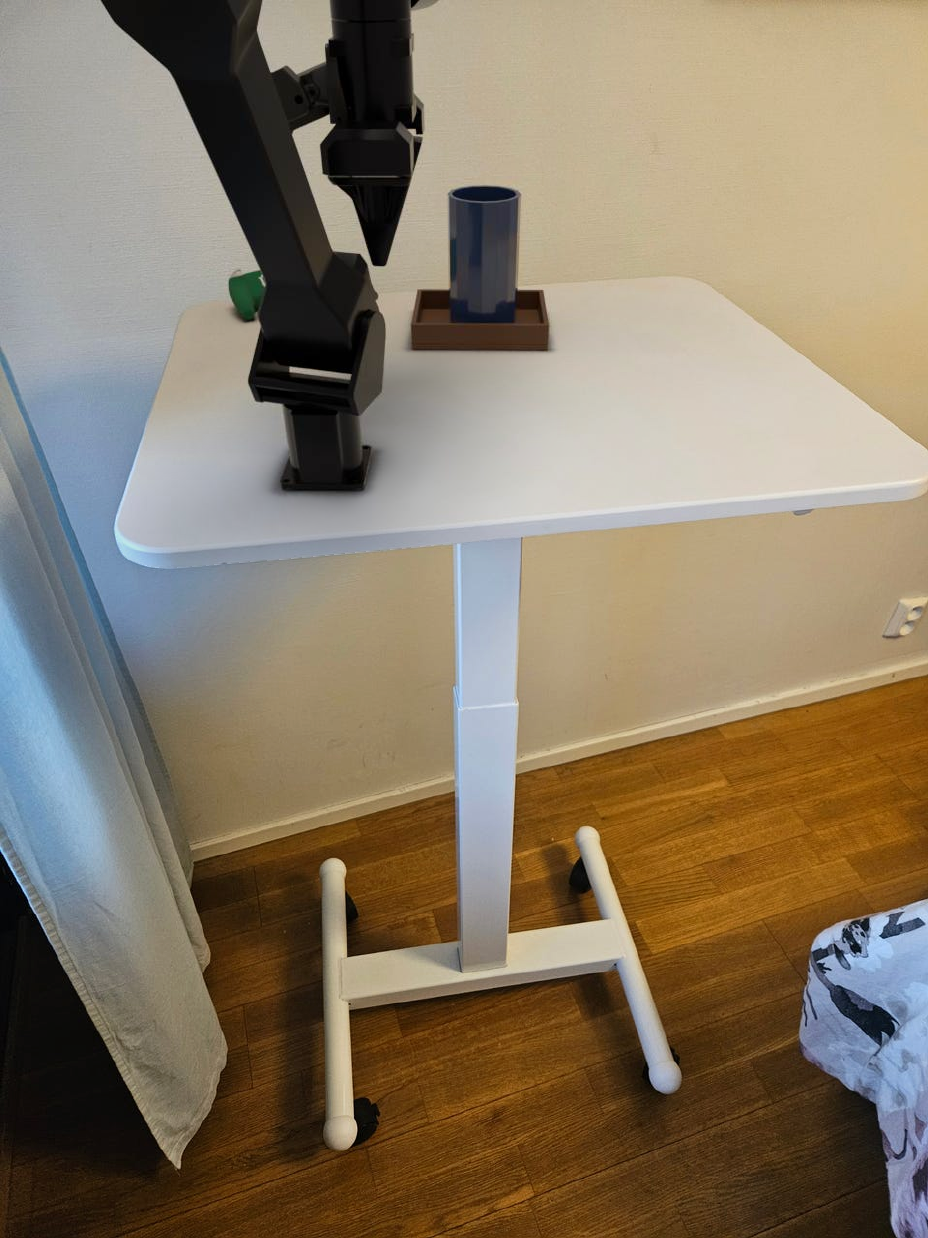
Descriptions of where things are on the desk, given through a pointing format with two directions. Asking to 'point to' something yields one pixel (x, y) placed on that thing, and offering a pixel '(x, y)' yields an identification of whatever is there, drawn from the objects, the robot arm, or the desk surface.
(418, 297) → the tray
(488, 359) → the desk surface
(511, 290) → the cup
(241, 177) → the robot arm
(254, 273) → the green rounded piece
